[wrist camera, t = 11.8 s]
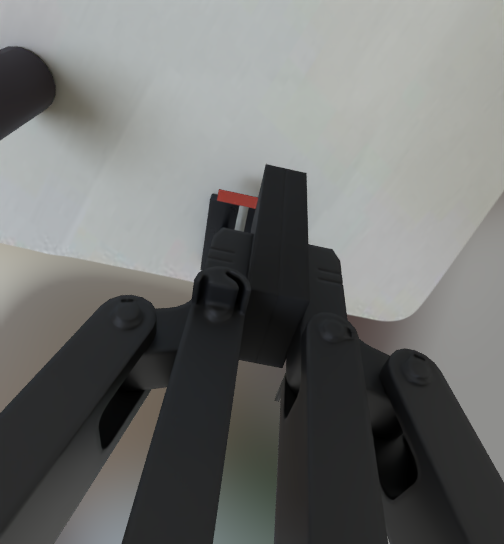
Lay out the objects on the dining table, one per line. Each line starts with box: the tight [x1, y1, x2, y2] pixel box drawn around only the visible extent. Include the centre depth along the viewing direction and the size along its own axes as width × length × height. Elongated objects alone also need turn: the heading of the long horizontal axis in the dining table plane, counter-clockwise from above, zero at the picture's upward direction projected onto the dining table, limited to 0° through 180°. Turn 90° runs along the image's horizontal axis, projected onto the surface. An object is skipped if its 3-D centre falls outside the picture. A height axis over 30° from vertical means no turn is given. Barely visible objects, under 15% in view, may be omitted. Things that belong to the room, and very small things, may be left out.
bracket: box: [201, 194, 256, 270], centre depth 51 cm, size 12×9×13 cm
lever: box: [217, 189, 258, 232], centre depth 47 cm, size 13×6×2 cm
